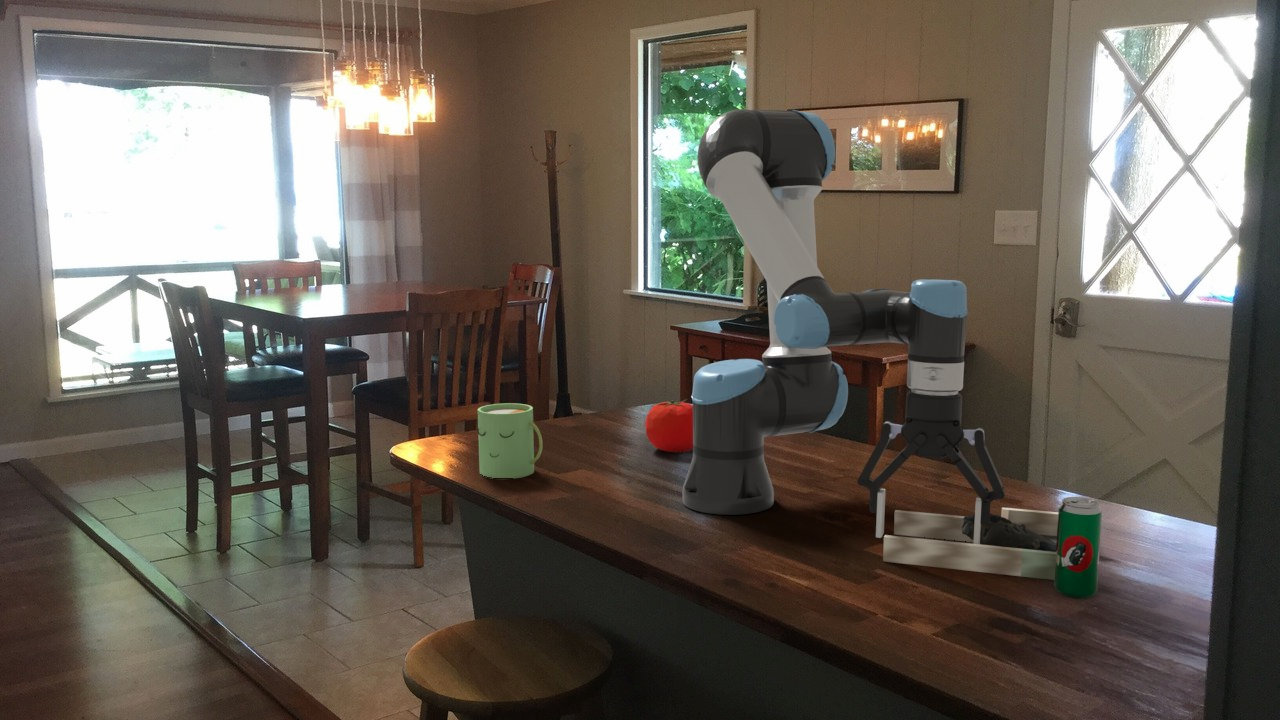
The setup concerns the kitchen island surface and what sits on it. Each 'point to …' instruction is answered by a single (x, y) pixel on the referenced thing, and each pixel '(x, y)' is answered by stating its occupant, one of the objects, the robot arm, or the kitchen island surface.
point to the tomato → (671, 426)
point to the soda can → (1078, 547)
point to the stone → (1007, 534)
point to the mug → (507, 440)
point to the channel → (966, 553)
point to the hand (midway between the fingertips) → (927, 540)
